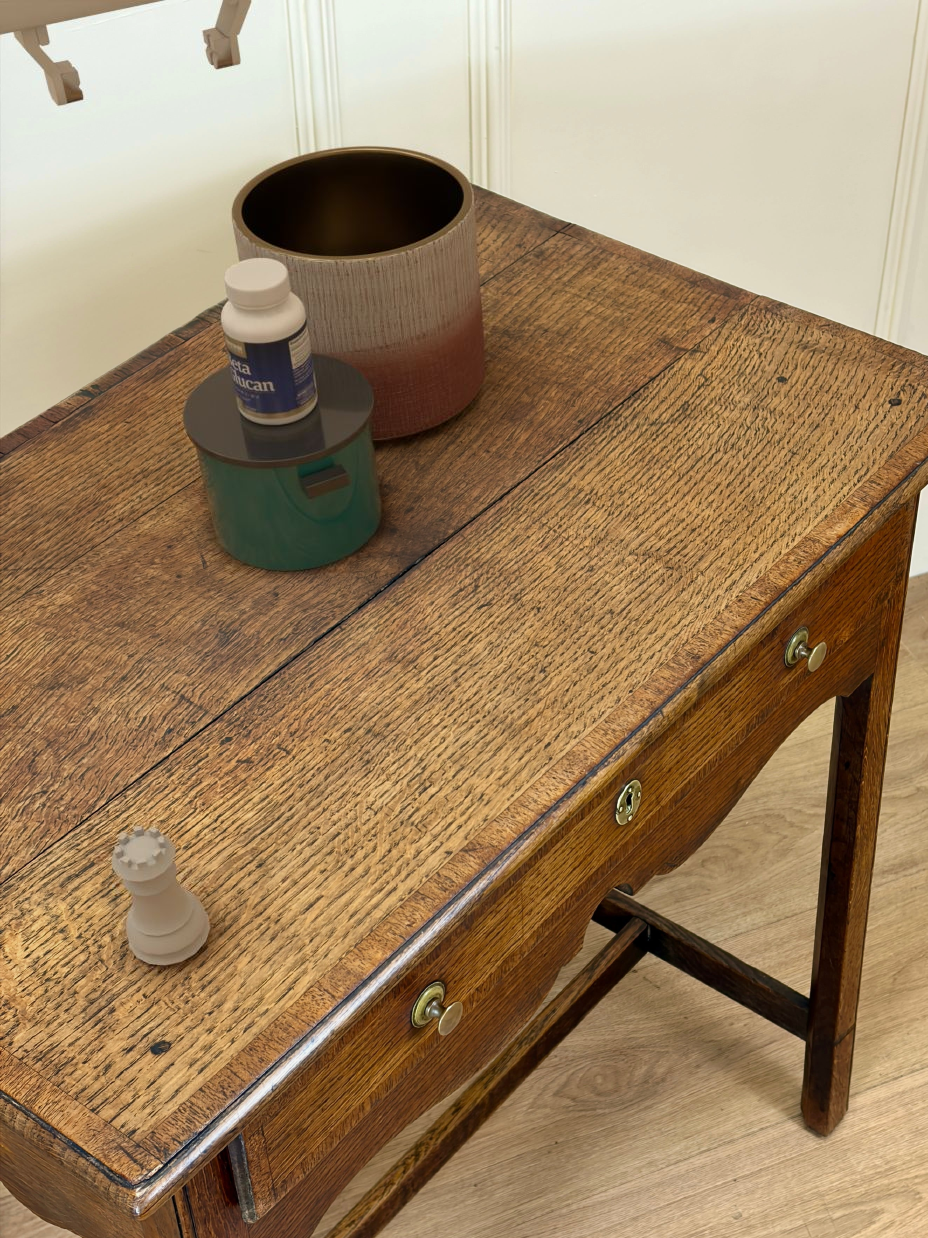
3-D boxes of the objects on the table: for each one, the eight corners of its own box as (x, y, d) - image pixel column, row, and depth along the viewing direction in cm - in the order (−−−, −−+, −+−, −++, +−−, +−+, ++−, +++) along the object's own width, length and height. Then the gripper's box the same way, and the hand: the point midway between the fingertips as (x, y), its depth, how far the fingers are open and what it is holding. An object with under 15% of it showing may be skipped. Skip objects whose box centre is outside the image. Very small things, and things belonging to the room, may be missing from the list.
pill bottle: (224, 420, 99) (196, 288, 92) (259, 376, 102) (235, 246, 95) (297, 434, 97) (275, 301, 90) (331, 389, 101) (312, 258, 94)
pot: (256, 606, 100) (231, 493, 93) (177, 492, 109) (150, 380, 102) (424, 542, 104) (413, 428, 97) (335, 437, 113) (319, 326, 106)
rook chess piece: (134, 906, 83) (101, 813, 77) (215, 900, 83) (187, 807, 77) (125, 973, 80) (89, 882, 74) (208, 967, 80) (179, 875, 74)
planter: (320, 311, 126) (294, 130, 115) (517, 345, 121) (510, 160, 110) (223, 428, 114) (183, 240, 103) (436, 470, 110) (419, 278, 99)
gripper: (260, -236, 81) (292, 26, 91) (-122, -176, 74) (-42, 100, 84) (307, -208, 77) (335, 62, 87) (-91, -142, 70) (-11, 143, 80)
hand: (147, 81), depth 85 cm, fingers open, 8 cm apart
